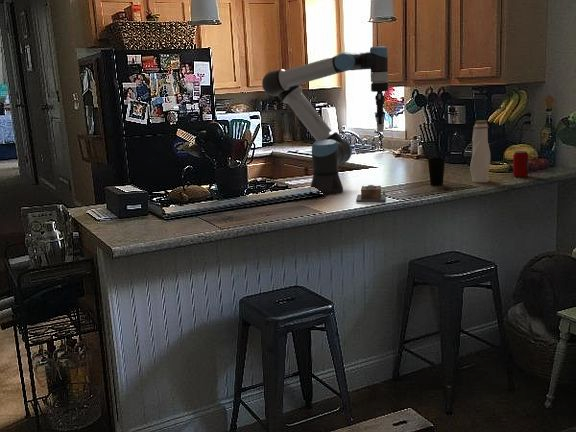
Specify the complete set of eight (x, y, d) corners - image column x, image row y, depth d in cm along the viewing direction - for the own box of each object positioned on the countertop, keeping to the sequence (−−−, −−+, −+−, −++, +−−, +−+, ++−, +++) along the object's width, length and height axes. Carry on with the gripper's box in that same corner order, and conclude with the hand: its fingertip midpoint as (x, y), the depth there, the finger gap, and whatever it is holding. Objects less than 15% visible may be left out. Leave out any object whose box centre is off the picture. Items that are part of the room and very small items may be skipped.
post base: (356, 202, 265) (355, 188, 264) (357, 197, 277) (357, 183, 275) (385, 202, 263) (385, 187, 262) (385, 196, 274) (385, 182, 273)
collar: (361, 199, 266) (361, 189, 265) (362, 195, 274) (362, 186, 273) (380, 198, 265) (380, 189, 264) (381, 194, 273) (380, 185, 272)
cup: (445, 185, 291) (445, 159, 288) (428, 186, 293) (428, 160, 290) (444, 183, 298) (444, 157, 296) (428, 183, 300) (427, 158, 297)
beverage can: (531, 176, 302) (531, 151, 300) (519, 178, 300) (520, 152, 297) (521, 174, 308) (521, 150, 306) (509, 176, 306) (510, 151, 303)
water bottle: (464, 180, 302) (465, 121, 296) (480, 178, 305) (481, 119, 299) (478, 183, 293) (478, 122, 287) (494, 181, 296) (495, 120, 290)
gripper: (387, 82, 270) (388, 132, 275) (388, 81, 294) (389, 127, 299) (369, 83, 271) (371, 133, 276) (372, 82, 295) (373, 128, 300)
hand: (380, 130), depth 287 cm, fingers open, 13 cm apart
